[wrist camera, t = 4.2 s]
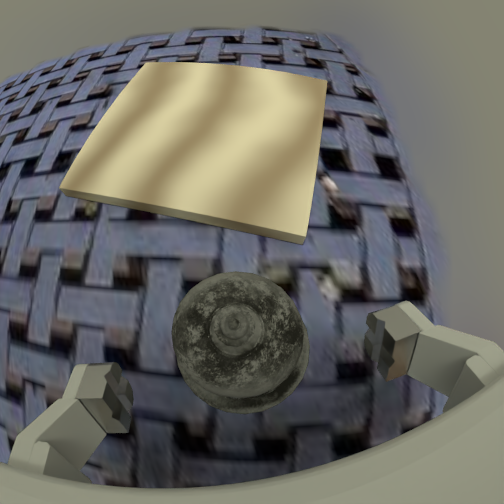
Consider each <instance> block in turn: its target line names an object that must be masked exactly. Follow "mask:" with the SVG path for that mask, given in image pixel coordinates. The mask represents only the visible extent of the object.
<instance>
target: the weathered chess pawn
mask: <svg viewBox="0 0 504 504" xmlns="http://www.w3.org/2000/svg"><path fill="white" fill-rule="evenodd" d="M172 340H173V348H174V351H175V353H176V356H177V362H178V367H179V369H180V371H181V374H182V376H183V378H184V381H185V382H186V383H187V385H188V386H189V387H190V389H191V390H192V391H193V392H194V394H195V395H196V396H198V397H199V398H200V399H202V400H203V401H204V402H206V403H207V404H208V405H210V406H212V407H215V408H217V409H220V410H222V411H225V412H230V413H239V414H248V413H255V412H261V411H264V410H266V409H269V408H271V407H273V406H276V405H278V404H279V403H281V402H282V401H283V400H284V399H286V398H287V397H288V396H289V395H290V394H292V393H293V391H294V390H295V389H296V387H297V386H298V384H299V383H300V382H301V380H302V378H303V376H304V373H305V370H306V368H307V365H308V360H309V348H310V345H309V340H308V335H307V329H306V327H305V325H304V323H303V321H302V319H301V316H300V314H299V312H298V310H297V308H296V306H295V304H294V302H293V300H292V299H291V298H290V297H289V296H288V295H287V294H286V293H285V291H284V290H283V289H282V288H281V287H279V286H278V285H276V284H275V283H273V282H272V281H270V280H269V279H267V278H264V277H261V276H258V275H256V274H253V273H245V272H236V271H235V272H228V273H221V274H217V275H215V276H212V277H209V278H207V279H204V280H203V281H201V282H200V283H199V284H197V285H196V286H195V287H193V288H192V289H191V290H190V291H189V292H188V293H187V294H186V296H185V297H184V298H183V299H182V301H181V302H180V304H179V306H178V309H177V311H176V313H175V315H174V320H173V326H172Z"/></svg>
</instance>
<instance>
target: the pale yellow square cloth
mask: <svg viewBox="0 0 504 504" xmlns="http://www.w3.org/2000/svg"><path fill="white" fill-rule="evenodd" d="M326 87H327V81H325V80H320V79H316V78H311V77H307V76H302V75H297V74H291V73H286V72H280V71H274V70H267V69H260V68H252V67H244V66H234V65H223V64H209V63H184V62H155V63H146V64H145V65H144V66H143V67H142V68H141V69H140V70H139V72H138V73H137V74H136V75H135V76H134V77H133V79H132V80H131V81H130V82H129V83H128V85H127V86H126V87H125V88H124V90H123V91H122V92H121V93H120V95H119V96H118V97H117V99H116V100H115V101H114V102H113V104H112V105H111V106H110V108H109V109H108V111H107V112H106V113H105V115H104V116H103V117H102V119H101V120H100V122H99V123H98V125H97V126H96V127H95V129H94V130H93V132H92V133H91V135H90V136H89V138H88V139H87V141H86V143H85V144H84V146H83V147H82V149H81V151H80V152H79V154H78V155H77V157H76V159H75V160H74V162H73V164H72V165H71V167H70V169H69V171H68V172H67V174H66V176H65V178H64V180H63V181H62V183H61V185H60V187H59V188H60V190H61V191H62V192H63V193H64V194H65V195H66V196H69V197H74V198H80V199H85V200H90V201H96V202H101V203H106V204H111V205H116V206H122V207H127V208H132V209H137V210H142V211H147V212H152V213H157V214H162V215H167V216H171V217H176V218H181V219H186V220H191V221H196V222H200V223H205V224H210V225H215V226H219V227H224V228H229V229H233V230H238V231H243V232H247V233H252V234H256V235H261V236H265V237H270V238H275V239H279V240H284V241H288V242H292V243H297V244H301V245H303V242H304V240H305V238H306V234H307V228H308V222H309V216H310V209H311V203H312V197H313V190H314V183H315V177H316V170H317V162H318V155H319V148H320V140H321V132H322V123H323V115H324V106H325V97H326Z"/></svg>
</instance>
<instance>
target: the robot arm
mask: <svg viewBox="0 0 504 504" xmlns="http://www.w3.org/2000/svg"><path fill="white" fill-rule="evenodd" d="M366 324H367V325H368V327H369V329H368V330H367V332H366V333H365V339H364V343H365V348H366V351H367V354H368V355H369V357H370V359H371V360H373V361H376V362H378V366H377V369H378V371H379V372H380V374H381V375H382V377H383V378H384V380H385V381H386V382H387V381H389V380H392V379H395V378H397V377H400V376H402V375H405V374H407V375H409V376H411V377H412V378H414V379H416V380H418V381H420V382H422V383H424V384H425V385H427V386H429V387H431V388H433V389H435V390H437V391H439V392H440V393H442V394H444V395H446V396H448V397H449V398H448V400H447V402H446V404H445V406H444V408H443V414H441V415H439V416H437V417H436V418H434V419H432V420H430V421H428V422H426V423H424V424H423V425H421V426H419V427H417V428H415V429H413V430H411V431H409V432H406V433H404V434H402V435H400V436H398V437H396V438H394V439H391V440H389V441H387V442H384V443H382V444H380V445H377V446H375V447H372V448H370V449H367V450H365V451H362V452H359V453H357V454H354V455H351V456H348V457H345V458H342V459H339V460H336V461H333V462H330V463H327V464H323V465H320V466H316V467H313V468H309V469H305V470H302V471H298V472H294V473H289V474H285V475H280V476H276V477H271V478H266V479H260V480H255V481H248V482H242V483H235V484H227V485H218V486H207V487H192V488H131V487H117V486H107V485H98V484H91V480H90V479H89V478H88V477H87V476H85V475H84V474H83V473H82V472H80V470H81V469H82V467H83V466H84V465H85V463H86V462H87V460H88V459H89V458H90V456H91V455H92V454H93V452H94V451H95V450H96V448H97V447H98V445H99V444H100V443H101V441H102V440H103V439H104V437H105V436H106V435H107V434H106V433H129V426H130V420H131V416H130V415H129V413H128V411H129V410H130V409H131V408H132V406H133V400H134V399H133V391H132V388H131V385H130V383H129V382H128V380H127V379H125V378H124V377H122V376H121V374H122V369H121V368H120V366H119V365H118V363H115V362H111V363H91V364H78V365H76V366H75V367H74V369H73V372H72V374H71V377H70V379H69V382H68V384H67V387H66V389H65V392H64V395H63V397H62V399H58V400H57V401H55V402H54V403H53V404H52V405H51V406H50V407H49V408H48V409H46V410H45V411H44V412H43V413H42V414H41V415H40V416H39V417H37V418H36V419H35V420H34V421H33V422H32V423H31V424H30V425H29V426H27V427H26V428H25V429H24V430H23V431H22V432H21V433H20V434H19V435H17V437H16V440H15V443H14V446H13V449H12V452H11V455H10V458H9V461H8V464H5V463H2V462H0V504H504V351H503V350H502V349H501V348H500V347H499V346H498V345H497V344H496V343H495V342H492V341H489V340H486V339H482V338H479V337H476V336H473V335H469V334H466V333H462V332H460V331H456V330H453V329H450V328H447V327H444V326H440V325H436V326H434V325H433V324H432V323H431V322H430V321H429V320H428V319H427V318H426V317H425V316H424V315H423V314H422V313H421V312H420V311H419V310H418V309H417V308H416V307H415V306H414V305H413V304H412V303H411V302H409V301H404V302H401V303H398V304H396V305H394V306H390V307H387V308H384V309H381V310H378V311H375V312H371V313H369V314H368V316H367V320H366Z"/></svg>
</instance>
